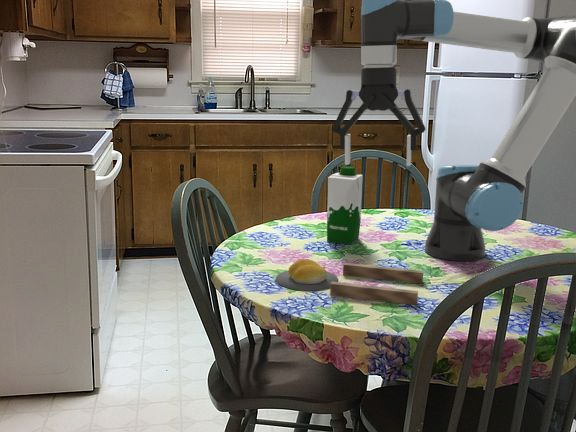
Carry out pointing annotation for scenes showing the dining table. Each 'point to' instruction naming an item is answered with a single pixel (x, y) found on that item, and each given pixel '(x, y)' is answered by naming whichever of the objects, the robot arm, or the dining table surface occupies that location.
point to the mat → (289, 283)
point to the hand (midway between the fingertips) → (377, 164)
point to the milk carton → (344, 206)
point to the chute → (375, 291)
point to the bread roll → (307, 272)
